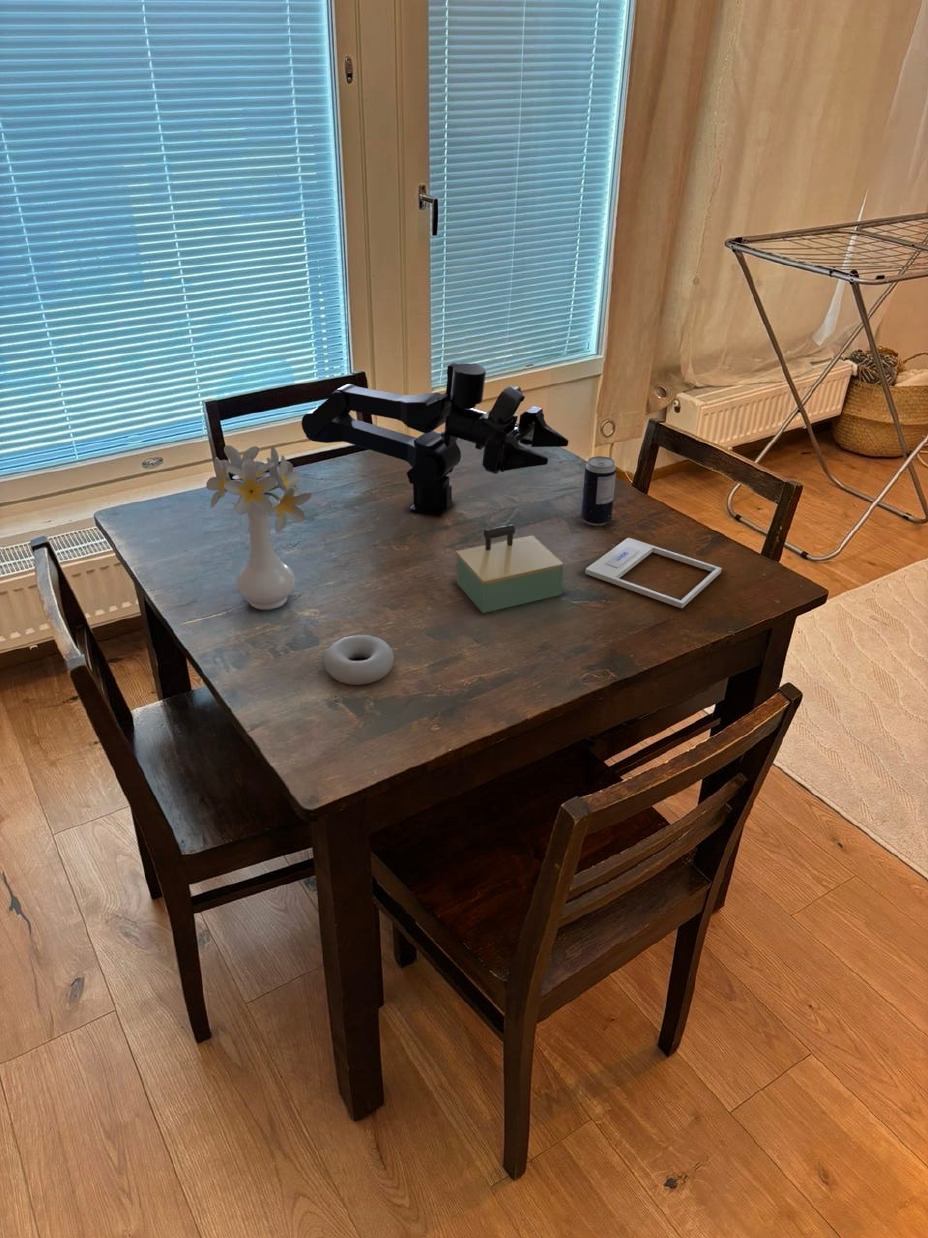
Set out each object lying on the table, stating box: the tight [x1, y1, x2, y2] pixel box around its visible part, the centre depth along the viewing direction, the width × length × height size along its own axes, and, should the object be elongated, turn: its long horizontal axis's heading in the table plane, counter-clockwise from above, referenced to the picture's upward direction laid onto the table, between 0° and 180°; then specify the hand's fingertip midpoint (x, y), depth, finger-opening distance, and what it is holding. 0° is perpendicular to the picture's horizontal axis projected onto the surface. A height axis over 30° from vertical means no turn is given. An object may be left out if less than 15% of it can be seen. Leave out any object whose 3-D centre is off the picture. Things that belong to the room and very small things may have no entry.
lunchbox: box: [456, 555, 564, 614], centre depth 150 cm, size 10×14×5 cm
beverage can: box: [580, 455, 617, 527], centre depth 170 cm, size 6×6×12 cm
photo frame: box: [584, 537, 723, 609], centre depth 156 cm, size 15×1×18 cm
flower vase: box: [205, 445, 312, 611], centre depth 141 cm, size 13×18×25 cm
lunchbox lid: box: [455, 524, 565, 585], centre depth 148 cm, size 11×14×4 cm
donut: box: [323, 634, 395, 686], centre depth 132 cm, size 10×4×10 cm
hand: (557, 452), depth 159 cm, fingers open, 9 cm apart
